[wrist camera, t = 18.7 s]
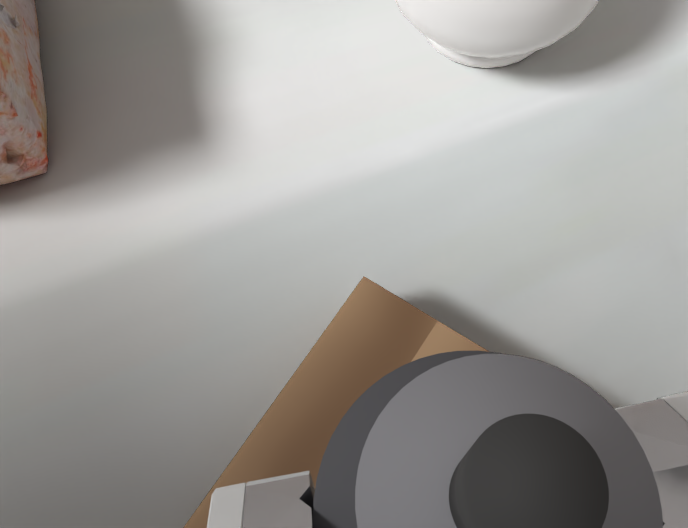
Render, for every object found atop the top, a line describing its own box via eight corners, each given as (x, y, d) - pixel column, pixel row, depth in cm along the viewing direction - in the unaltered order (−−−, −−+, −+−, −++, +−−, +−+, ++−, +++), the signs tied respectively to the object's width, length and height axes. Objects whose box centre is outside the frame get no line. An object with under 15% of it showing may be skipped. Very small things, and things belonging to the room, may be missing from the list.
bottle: (299, 561, 14) (165, 561, 5) (409, 389, 15) (442, 172, 7) (483, 702, 13) (688, 994, 4) (584, 501, 14) (893, 409, 6)
